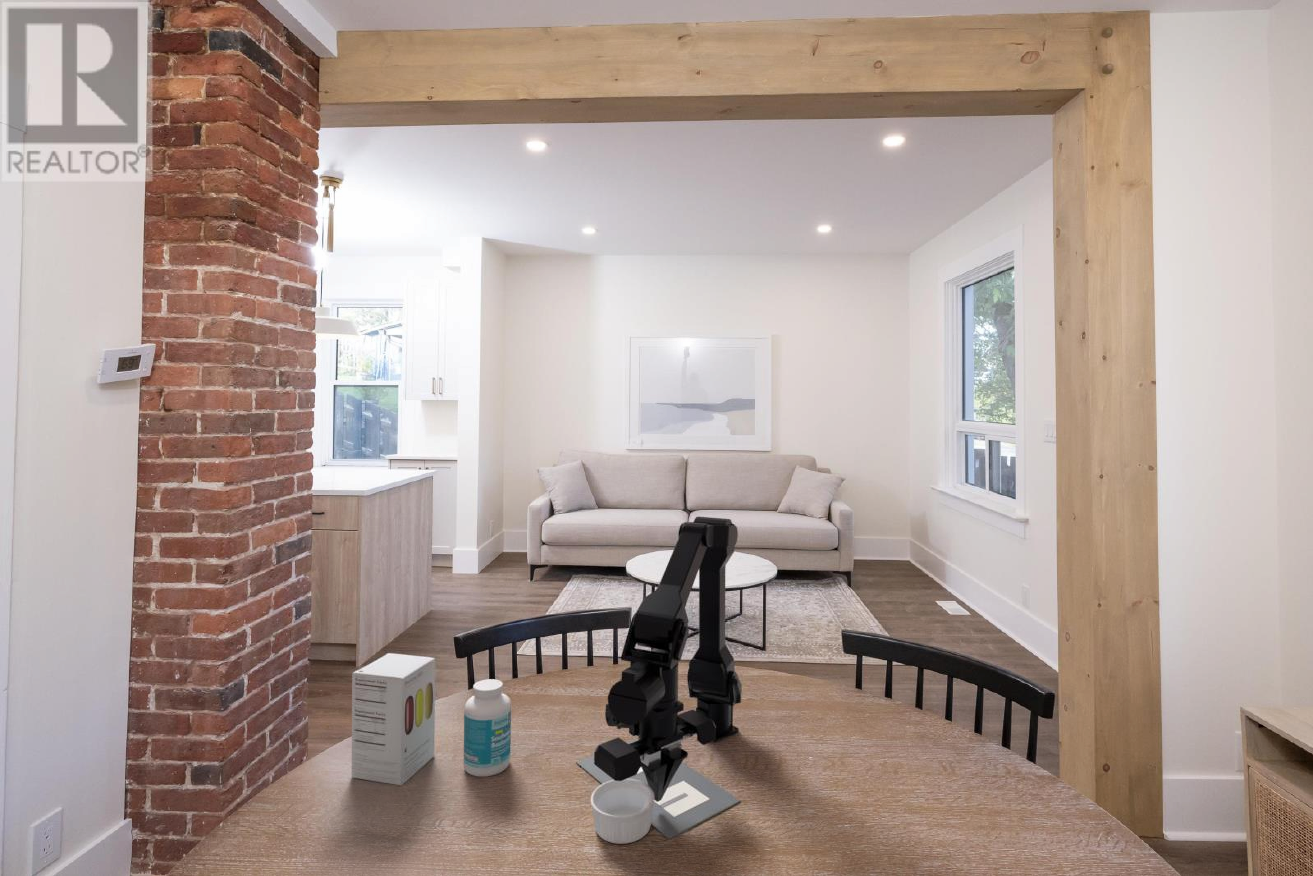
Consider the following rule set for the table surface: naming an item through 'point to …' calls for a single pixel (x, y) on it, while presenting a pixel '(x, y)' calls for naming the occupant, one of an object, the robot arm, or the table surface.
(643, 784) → the ramekin
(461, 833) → the table surface
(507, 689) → the table surface
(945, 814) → the table surface
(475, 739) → the pill bottle
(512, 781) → the table surface
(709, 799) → the slate mat
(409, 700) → the supplement box
